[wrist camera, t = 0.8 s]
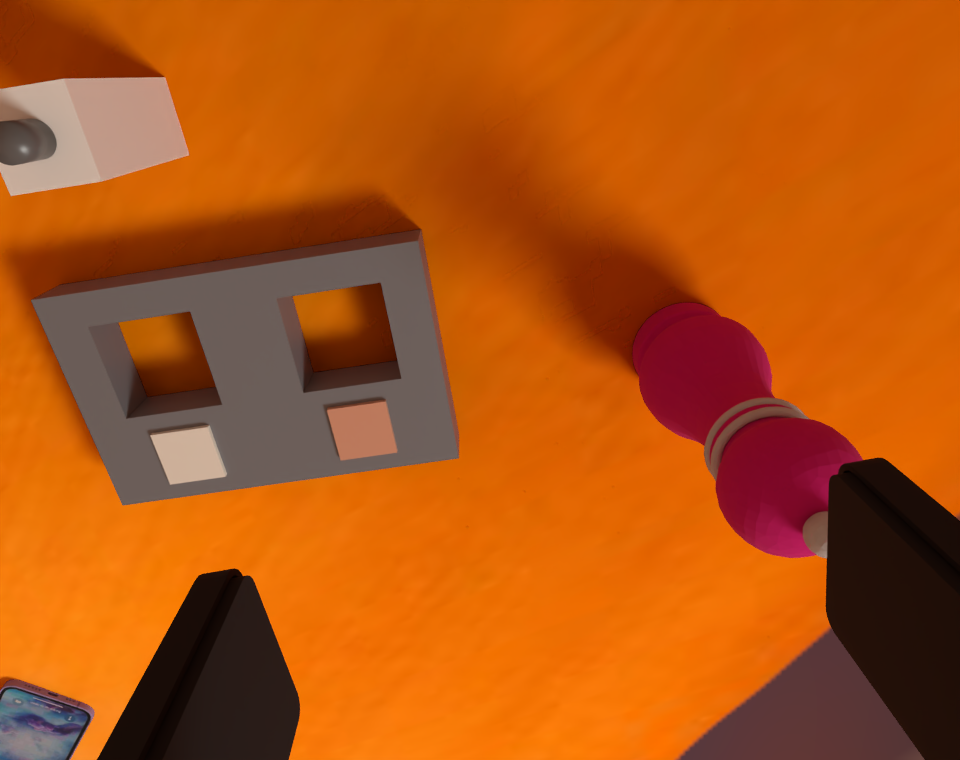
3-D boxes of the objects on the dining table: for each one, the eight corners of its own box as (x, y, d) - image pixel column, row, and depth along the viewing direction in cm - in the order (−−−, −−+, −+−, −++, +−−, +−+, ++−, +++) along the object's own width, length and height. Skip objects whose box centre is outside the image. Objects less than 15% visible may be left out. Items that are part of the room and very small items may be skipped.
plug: (92, 89, 36) (-69, 96, 25) (165, 77, 36) (34, 78, 25) (120, 166, 38) (-20, 204, 27) (189, 155, 37) (77, 188, 26)
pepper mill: (735, 391, 44) (924, 612, 26) (626, 405, 45) (738, 633, 26) (738, 286, 41) (955, 454, 23) (621, 302, 42) (745, 479, 23)
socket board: (60, 284, 40) (27, 301, 37) (421, 229, 39) (417, 242, 36) (142, 479, 46) (120, 508, 43) (458, 435, 45) (458, 460, 42)
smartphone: (96, 712, 55) (40, 814, 60) (101, 703, 56) (45, 804, 61) (2, 682, 53) (-47, 790, 58) (9, 672, 54) (-40, 780, 59)
